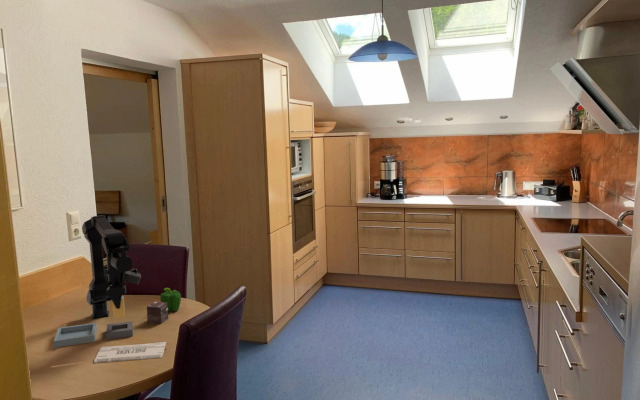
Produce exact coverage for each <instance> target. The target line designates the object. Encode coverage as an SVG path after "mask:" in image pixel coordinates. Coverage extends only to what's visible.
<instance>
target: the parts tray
mask: <svg viewBox="0 0 640 400" xmlns="http://www.w3.org/2000/svg"><path fill="white" fill-rule="evenodd" d="M97 328H98V327H97V322H92V323H91V322H90V323H86V324H77V325H70V326H68V325H67V326H63V327H57V331H56V333H55V336H54V339H53V349H54V348H55V349H59V348H60V347H67V346H73V345H74V346H75V345H79V344H86V343H87V344H88V343H89V344H90V343H95V341H96V335H97V330H98V329H97Z"/></svg>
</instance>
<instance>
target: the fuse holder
mask: <svg viewBox="0 0 640 400" xmlns="http://www.w3.org/2000/svg"><path fill="white" fill-rule="evenodd" d="M133 322H134V321H133V320H132V321H131V320H130V321H124V322H117V323H109V324H106V332H105V336H106V337H105V338H106V341H108V340H115V339H124V338H131V337H133V336H134V324H133Z"/></svg>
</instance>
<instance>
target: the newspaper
mask: <svg viewBox="0 0 640 400" xmlns="http://www.w3.org/2000/svg"><path fill="white" fill-rule="evenodd" d="M167 344H168V342H167V341H166V342H165V341H160V342H159V341H158V342H151V343H149V342H148V343H139V344H138V343H137V344H127V345H125V344H124V345H123V344H122V345H109V346H100V348H99V351H98V352H97V353H96V356H95V358H94V360H93V364H101V363H114V362H116V363H117V362H128V361H138V360H151V359H162V358H164V352H165V349H166V346H167Z"/></svg>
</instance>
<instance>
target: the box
mask: <svg viewBox="0 0 640 400" xmlns="http://www.w3.org/2000/svg"><path fill="white" fill-rule="evenodd" d="M146 316H147V317H146V318H147V324H152V325H153V324H155V325H162V324H163V323H165V322H166V321H168V320H169V311H168V305H167V302H161V301H154V302H151V303H150V304H149V305H147V306H146Z"/></svg>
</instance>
